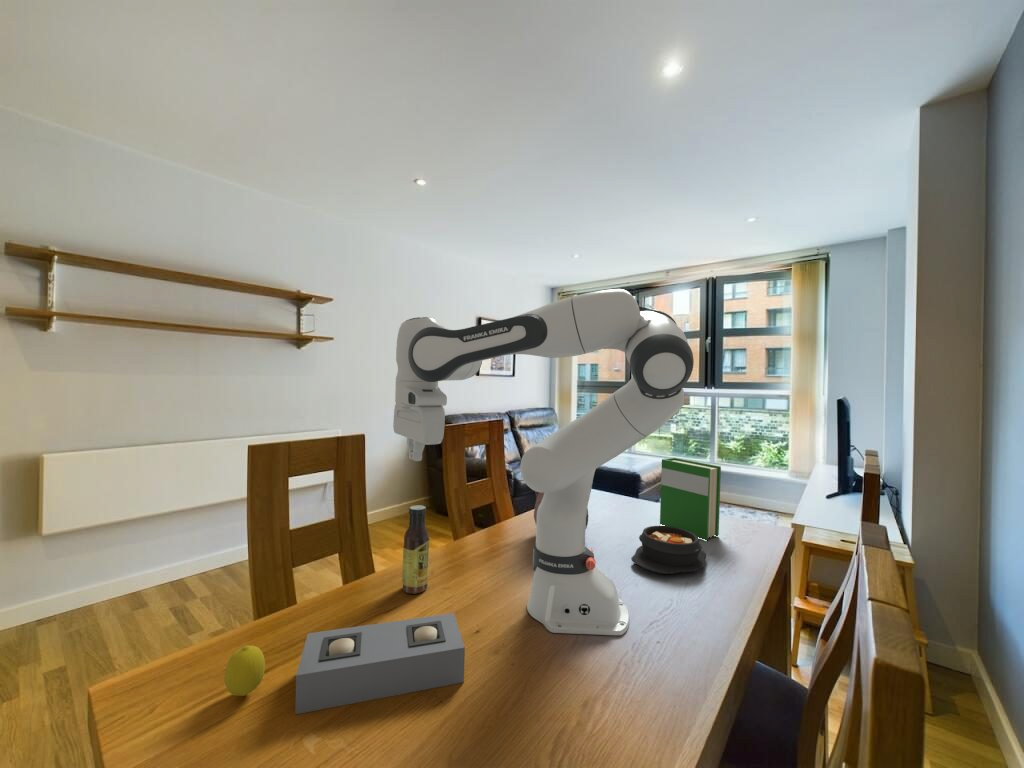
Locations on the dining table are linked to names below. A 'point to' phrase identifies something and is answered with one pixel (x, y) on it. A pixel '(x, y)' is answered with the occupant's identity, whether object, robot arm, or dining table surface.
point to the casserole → (669, 550)
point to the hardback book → (690, 496)
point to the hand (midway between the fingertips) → (415, 459)
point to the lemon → (244, 670)
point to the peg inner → (425, 633)
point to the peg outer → (341, 646)
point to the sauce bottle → (416, 552)
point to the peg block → (378, 662)
